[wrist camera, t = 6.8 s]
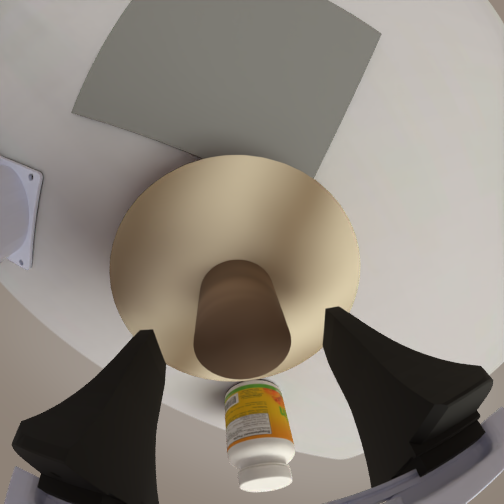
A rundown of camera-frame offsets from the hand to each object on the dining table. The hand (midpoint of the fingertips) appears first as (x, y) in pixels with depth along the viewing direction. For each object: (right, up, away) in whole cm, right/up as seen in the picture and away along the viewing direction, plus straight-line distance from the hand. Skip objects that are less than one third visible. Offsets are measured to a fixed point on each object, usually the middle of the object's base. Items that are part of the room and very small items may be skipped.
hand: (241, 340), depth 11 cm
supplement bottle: (0, -10, +13) cm, 16 cm away
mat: (-1, +16, +2) cm, 16 cm away
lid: (0, +2, +3) cm, 4 cm away
